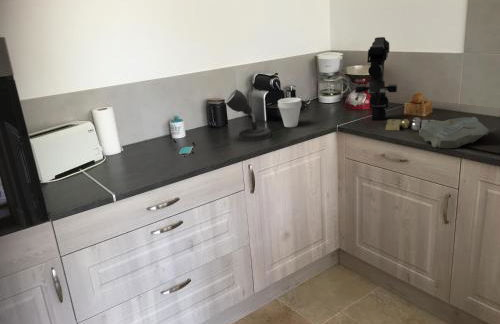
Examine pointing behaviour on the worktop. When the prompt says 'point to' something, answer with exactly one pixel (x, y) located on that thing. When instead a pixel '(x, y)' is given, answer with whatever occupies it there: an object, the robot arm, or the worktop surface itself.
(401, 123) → the olive box with knob
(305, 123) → the worktop surface
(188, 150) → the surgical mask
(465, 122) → the stone
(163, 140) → the worktop surface
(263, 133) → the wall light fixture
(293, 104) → the cup
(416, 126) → the fixed leaf
